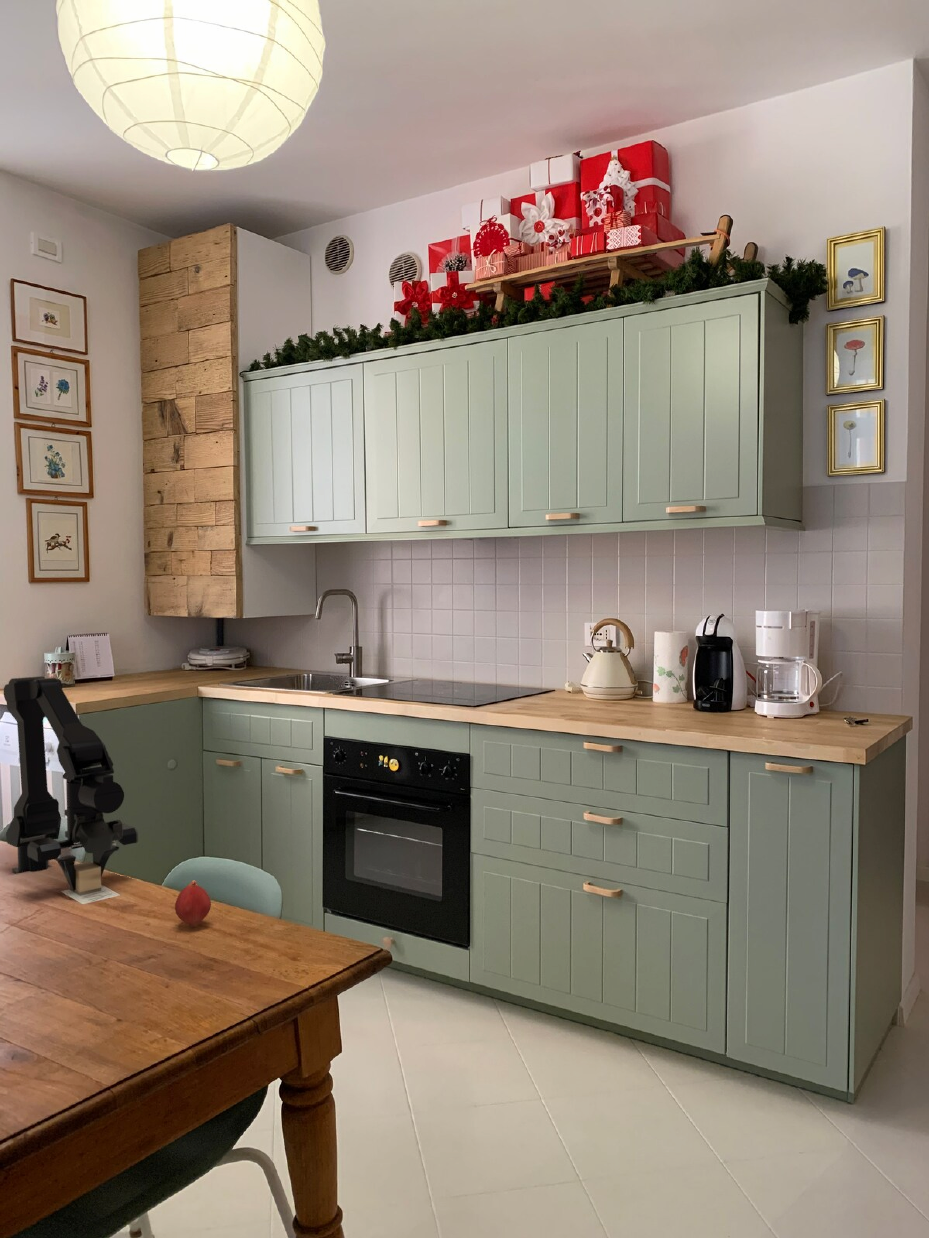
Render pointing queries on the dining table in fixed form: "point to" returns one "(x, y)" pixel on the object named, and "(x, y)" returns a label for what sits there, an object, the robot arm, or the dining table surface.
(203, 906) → the onion
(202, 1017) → the dining table surface
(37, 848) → the robot arm
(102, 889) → the board
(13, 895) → the dining table surface
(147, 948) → the dining table surface
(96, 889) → the block
